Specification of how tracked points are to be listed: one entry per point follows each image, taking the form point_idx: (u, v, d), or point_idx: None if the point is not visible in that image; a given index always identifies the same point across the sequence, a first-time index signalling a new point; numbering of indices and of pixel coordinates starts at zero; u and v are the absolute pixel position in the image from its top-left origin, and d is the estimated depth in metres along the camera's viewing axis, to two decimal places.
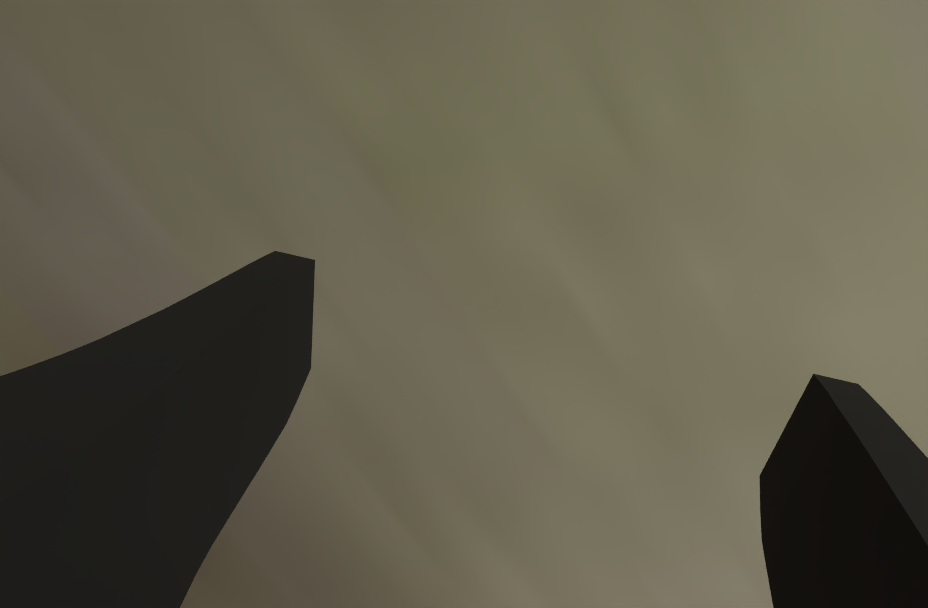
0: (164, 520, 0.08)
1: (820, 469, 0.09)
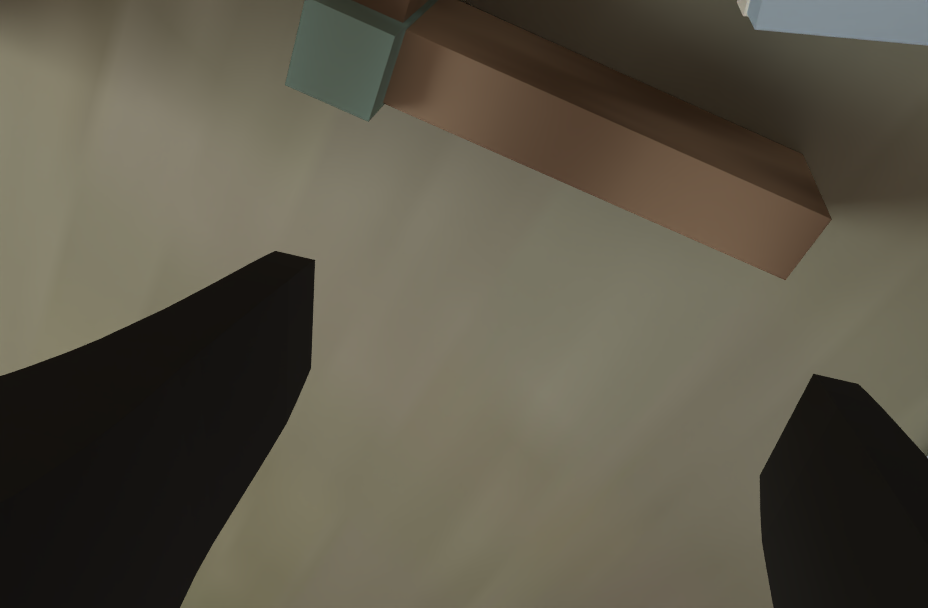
0: (164, 520, 0.08)
1: (820, 469, 0.09)
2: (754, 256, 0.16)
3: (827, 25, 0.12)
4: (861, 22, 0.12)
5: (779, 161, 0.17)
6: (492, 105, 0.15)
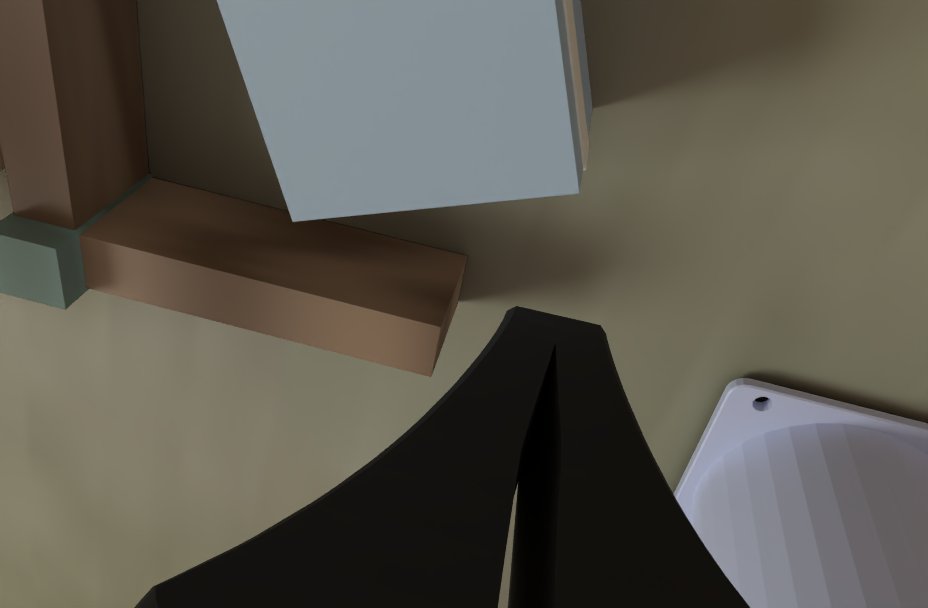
0: None
1: (543, 403, 0.10)
2: (398, 362, 0.19)
3: (338, 209, 0.16)
4: (359, 203, 0.15)
5: (429, 272, 0.20)
6: (161, 278, 0.19)
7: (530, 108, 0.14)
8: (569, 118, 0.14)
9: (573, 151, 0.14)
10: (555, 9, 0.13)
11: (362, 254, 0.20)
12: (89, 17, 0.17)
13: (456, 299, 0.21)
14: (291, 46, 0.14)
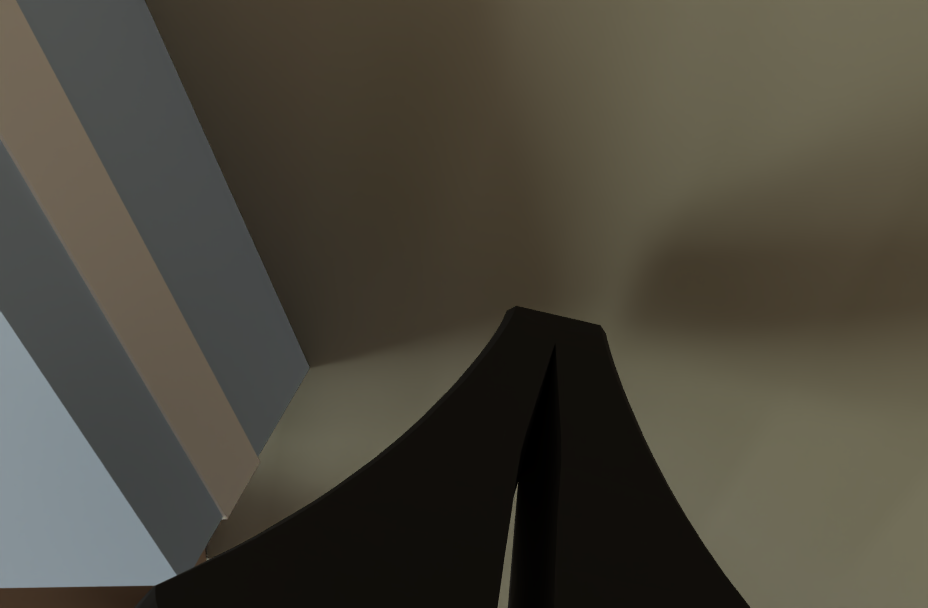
0: None
1: (543, 403, 0.10)
2: None
3: None
4: None
5: None
6: None
7: (78, 494, 0.10)
8: (132, 506, 0.10)
9: (154, 542, 0.10)
10: (53, 390, 0.09)
11: None
12: None
13: None
14: None
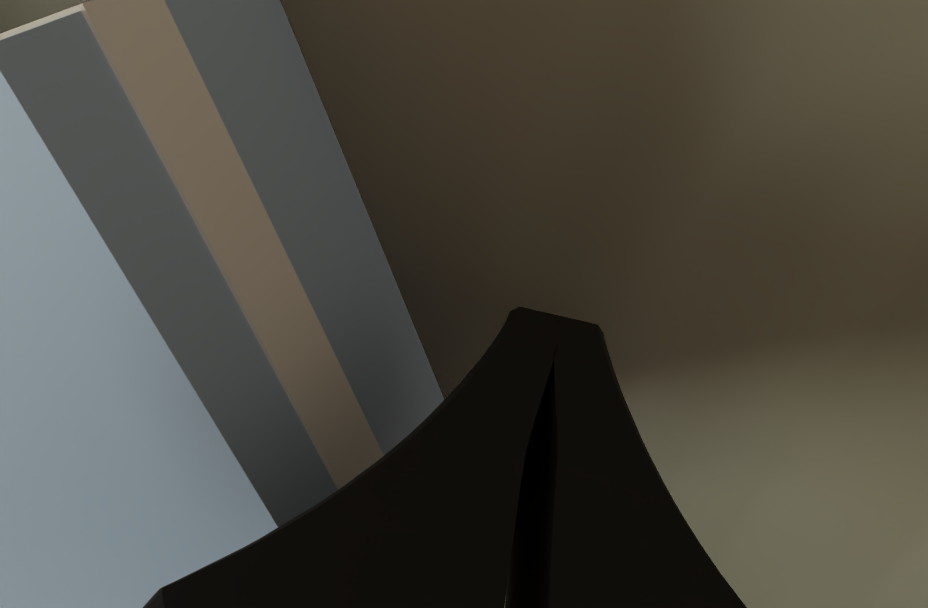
0: None
1: None
2: None
3: None
4: None
5: None
6: None
7: None
8: None
9: None
10: (252, 485, 0.08)
11: None
12: None
13: None
14: None
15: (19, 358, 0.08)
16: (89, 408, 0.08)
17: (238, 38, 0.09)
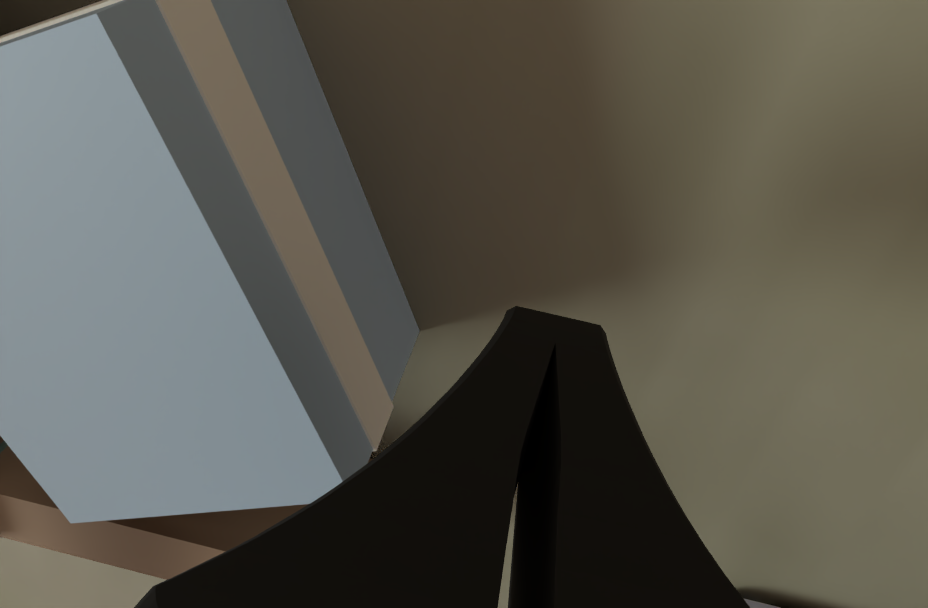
0: None
1: (543, 403, 0.10)
2: None
3: (112, 513, 0.14)
4: (130, 508, 0.14)
5: None
6: (65, 529, 0.17)
7: (273, 425, 0.12)
8: (318, 434, 0.12)
9: (333, 463, 0.12)
10: (266, 337, 0.11)
11: None
12: None
13: None
14: (9, 374, 0.12)
15: (100, 241, 0.11)
16: (149, 279, 0.11)
17: (254, 13, 0.12)
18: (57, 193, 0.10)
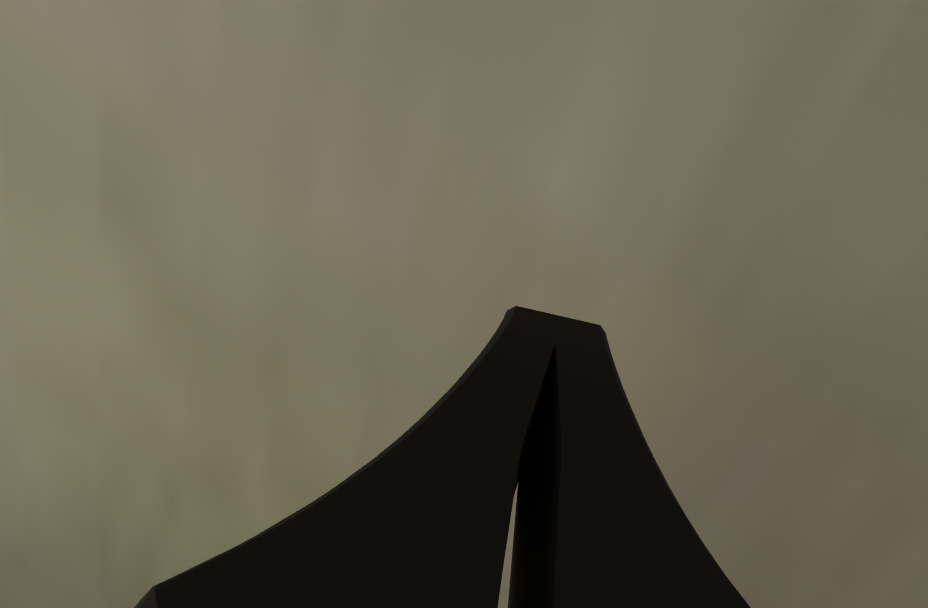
0: None
1: (543, 403, 0.10)
2: None
3: None
4: None
5: None
6: None
7: None
8: None
9: None
10: None
11: None
12: None
13: None
14: None
15: None
16: None
17: None
18: None
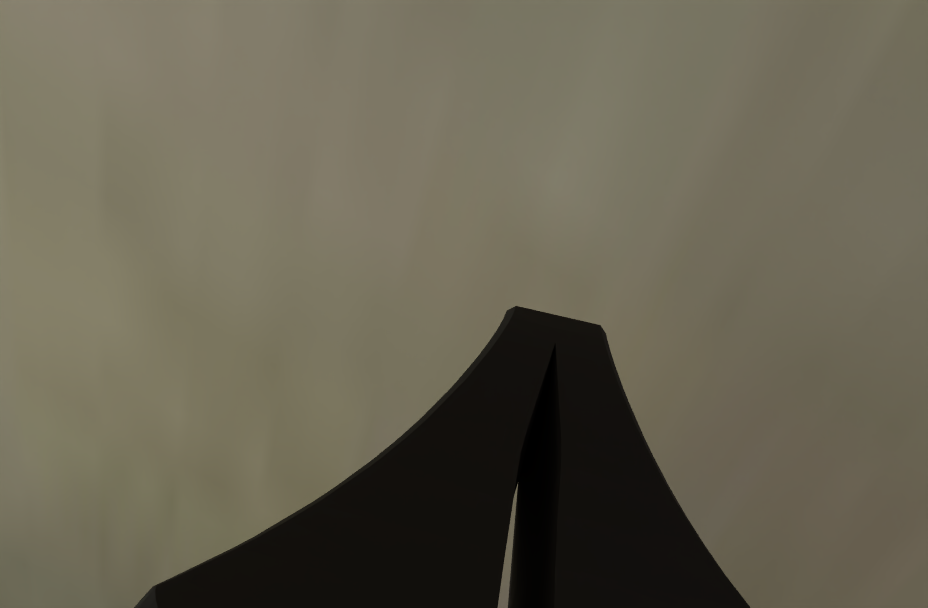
0: None
1: (543, 403, 0.10)
2: None
3: None
4: None
5: None
6: None
7: None
8: None
9: None
10: None
11: None
12: None
13: None
14: None
15: None
16: None
17: None
18: None
